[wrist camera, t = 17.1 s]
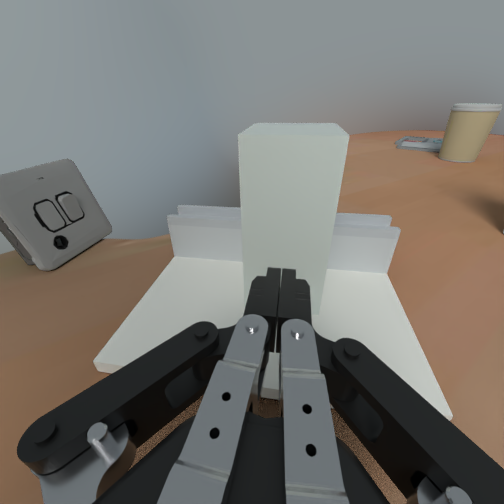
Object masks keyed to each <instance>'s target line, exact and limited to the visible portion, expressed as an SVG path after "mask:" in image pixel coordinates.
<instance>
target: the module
mask: <svg viewBox="0 0 504 504" xmlns="http://www.w3.org/2000/svg"><path fill="white" fill-rule="evenodd" d="M348 141H349V135H348V134H347V133H346V132H345V131H344V130H343V129H342V128H340V127H339V126H338V125H337V124H336V123H255V124H254V125H252V126H251V127H249V128H247V129H246V130H244V131H243V132H241V133H240V134H238V145H239V174H240V197H241V198H240V200H241V226H242V252H243V279H244V305H245V306H246V303H247V299H248V295H249V291H250V287H251V283H252V281H253V280H254V279H255V278H256V276H266V274H267V268H268V267H272V268H281V277H282V268H286V269H296V279H304V280H306V281H307V283H308V284H309V286H310V298H311V314H314V315H319V311H320V305H321V299H322V293H323V288H324V282H325V276H326V270H327V264H328V258H329V252H330V246H331V241H332V235H333V229H334V223H335V217H336V211H337V205H338V200H339V194H340V188H341V182H342V176H343V170H344V164H345V159H346V153H347V147H348ZM280 287H281V283H280Z"/></svg>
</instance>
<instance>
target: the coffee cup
mask: <svg viewBox="0 0 504 504" xmlns="http://www.w3.org/2000/svg"><path fill="white" fill-rule="evenodd" d="M501 107H502V105H501V104H454V106H453V107H452V108H451V113H450V117H449V120H448V123H447V127H446V131H445V134H444V138H443V142H442V145H441V149H440V153H439V159H442V160H446V161H452V162H474V161H475V160H476V158H477V156H478V154H479V152H480V151H481V149H482V147H483V145H484V143H485V141H486V139H487V137H488V135H489V133H490V131H491V129H492V127H493V125H494V123H495V121H496V119H497V117H498V115H499V113H500V111H501V110H502V108H501Z"/></svg>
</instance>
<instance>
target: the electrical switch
mask: <svg viewBox="0 0 504 504" xmlns="http://www.w3.org/2000/svg"><path fill="white" fill-rule="evenodd" d="M3 222H5V223H3ZM9 228H10V229H11V230H10V229H9ZM0 231H1V232H2V234H3V235H4V236H5V237H6V238H7V239H8V241H9V242H10V243H11V245H12V246H13V247H14V248H15V250H16V251H17V252H18V253H19V255H20V256H21V257H22V258H23V259H24V261H25V262H26V263H27V264H28V265H33V264H36V266H37V267H38V268H39V269H40V270H43V271H49V270H53V269H56V268H57V267H59V266H60V265H62V264H63V263H65V262H66V261H68V260H70V259H71V258H73V257H74V256H76V255H77V254H79V253H80V252H82V251H84V250H85V249H87V248H88V247H90V246H91V245H93V244H94V243H96V242H98V241H99V240H101V239H102V238H104V237H105V236H107V235H109V234H110V233H111V232H112V226H111V224H110V223H109V221H108V219H107V218H106V216H105V214H104V213H103V211H102V209H101V207H100V206H99V204H98V202H97V201H96V199H95V197H94V196H93V194H92V192H91V190H90V189H89V187H88V185H87V184H86V182H85V180H84V178H83V177H82V175H81V173H80V172H79V170H78V168H77V166H76V165H75V163H74V162H73V161H72V160H69V159H63V160H58V161H54V162H50V163H46V164H42V165H38V166H34V167H30V168H26V169H22V170H18V171H14V172H10V173H6V174H2V175H0ZM17 238H18V239H17Z"/></svg>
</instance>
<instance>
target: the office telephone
mask: <svg viewBox="0 0 504 504" xmlns="http://www.w3.org/2000/svg"><path fill="white" fill-rule="evenodd" d="M406 140H415V141H406ZM417 141H422V142H417ZM442 142H443V139H441V138H425V137H423V138H421V137H411V136H410V137H409V136H405V137H403V138H401V139H399V140H398V141H396V142H395V144H397V145H398V146H397V148H399V149H408V150H418V151H427V152H437V153H440V149H441V145H442Z"/></svg>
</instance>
